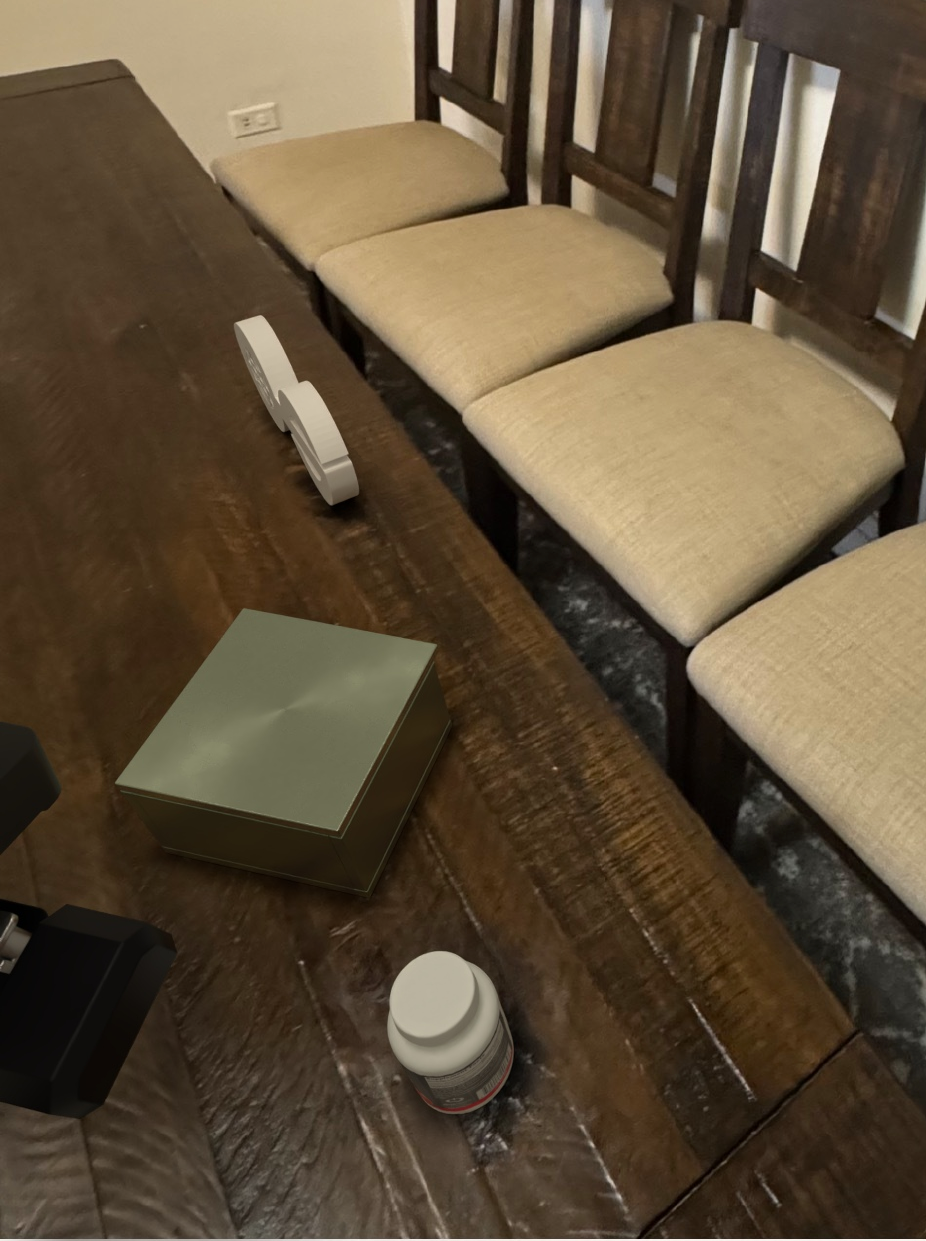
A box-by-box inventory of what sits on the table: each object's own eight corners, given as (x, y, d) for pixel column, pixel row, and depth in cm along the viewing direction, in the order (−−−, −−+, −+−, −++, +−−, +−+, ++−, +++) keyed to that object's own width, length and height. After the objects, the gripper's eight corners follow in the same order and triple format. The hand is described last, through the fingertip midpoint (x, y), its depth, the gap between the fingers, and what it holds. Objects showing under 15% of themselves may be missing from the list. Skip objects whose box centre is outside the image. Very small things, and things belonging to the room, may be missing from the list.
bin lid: (246, 615, 67) (243, 607, 66) (439, 651, 65) (437, 643, 64) (119, 790, 57) (113, 783, 57) (341, 838, 55) (337, 831, 55)
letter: (257, 394, 95) (223, 302, 88) (280, 386, 96) (248, 295, 89) (343, 528, 83) (311, 434, 76) (368, 517, 84) (340, 424, 77)
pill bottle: (403, 1035, 55) (363, 962, 48) (499, 992, 57) (473, 917, 50) (426, 1136, 52) (387, 1074, 45) (527, 1088, 53) (504, 1021, 47)
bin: (272, 690, 71) (240, 624, 66) (452, 725, 69) (434, 661, 64) (165, 852, 62) (119, 791, 57) (370, 898, 60) (341, 839, 55)
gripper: (149, 729, 34) (310, 862, 47) (-318, 634, 36) (-44, 785, 49) (-62, 1100, 28) (190, 1137, 41) (-611, 957, 30) (-209, 1034, 43)
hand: (29, 1004), depth 43 cm, fingers closed
